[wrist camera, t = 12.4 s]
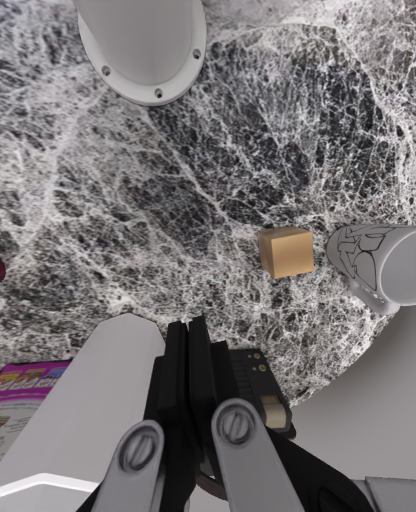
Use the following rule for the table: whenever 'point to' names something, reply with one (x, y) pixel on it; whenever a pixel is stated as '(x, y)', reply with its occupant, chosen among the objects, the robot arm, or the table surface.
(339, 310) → the table surface
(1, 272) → the cup
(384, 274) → the mug
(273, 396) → the camera
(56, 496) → the cup
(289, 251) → the block
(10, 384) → the candy bar box
